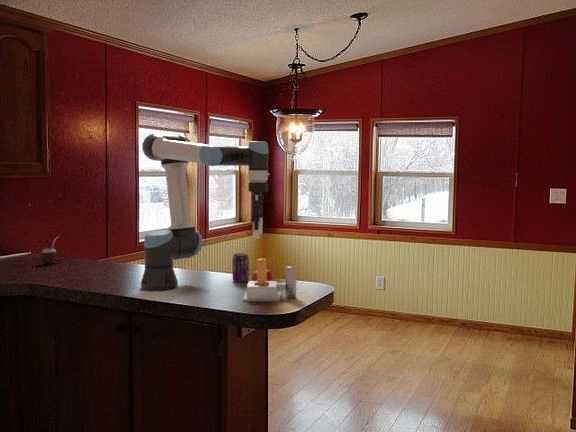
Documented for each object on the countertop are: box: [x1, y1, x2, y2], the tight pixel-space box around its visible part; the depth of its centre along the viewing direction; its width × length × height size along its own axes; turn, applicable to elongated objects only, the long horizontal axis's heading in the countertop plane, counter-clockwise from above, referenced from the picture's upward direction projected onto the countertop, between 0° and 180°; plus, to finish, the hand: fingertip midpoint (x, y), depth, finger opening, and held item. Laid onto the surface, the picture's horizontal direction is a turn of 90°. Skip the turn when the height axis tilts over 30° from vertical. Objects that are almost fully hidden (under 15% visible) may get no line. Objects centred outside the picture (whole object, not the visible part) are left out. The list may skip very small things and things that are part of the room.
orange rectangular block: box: [256, 258, 268, 285], centre depth 231 cm, size 4×4×14 cm
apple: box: [251, 269, 273, 281], centre depth 250 cm, size 8×8×10 cm
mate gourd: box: [41, 235, 60, 266], centre depth 309 cm, size 8×8×15 cm
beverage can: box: [232, 252, 250, 283], centre depth 264 cm, size 7×7×12 cm
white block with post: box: [242, 265, 297, 302], centre depth 231 cm, size 20×12×12 cm, turn 90°
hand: (257, 236), depth 234 cm, fingers open, 13 cm apart
